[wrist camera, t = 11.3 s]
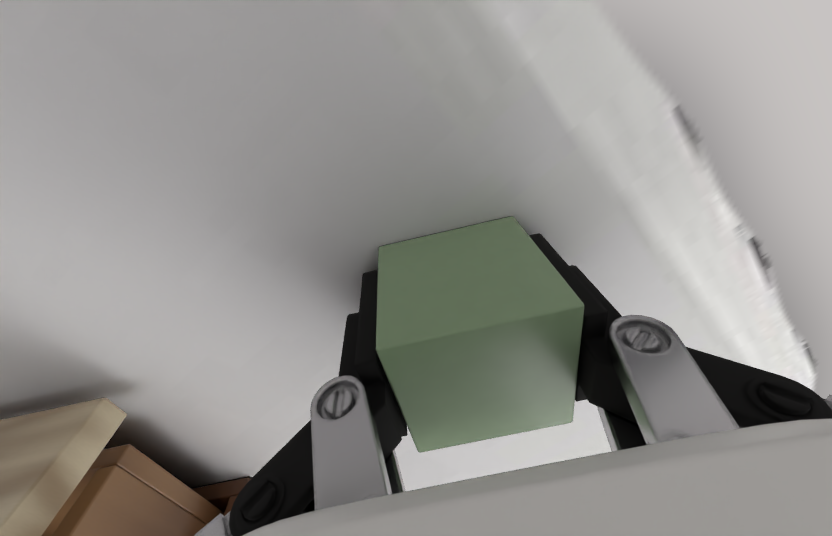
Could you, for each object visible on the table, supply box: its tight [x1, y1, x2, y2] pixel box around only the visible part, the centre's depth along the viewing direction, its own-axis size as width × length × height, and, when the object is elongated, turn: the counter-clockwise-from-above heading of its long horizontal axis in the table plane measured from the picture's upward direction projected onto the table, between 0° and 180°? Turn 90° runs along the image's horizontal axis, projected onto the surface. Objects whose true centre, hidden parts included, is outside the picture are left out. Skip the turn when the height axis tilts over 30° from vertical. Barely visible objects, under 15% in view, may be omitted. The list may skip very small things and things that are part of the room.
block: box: [376, 216, 584, 452], centre depth 10 cm, size 4×4×4 cm
